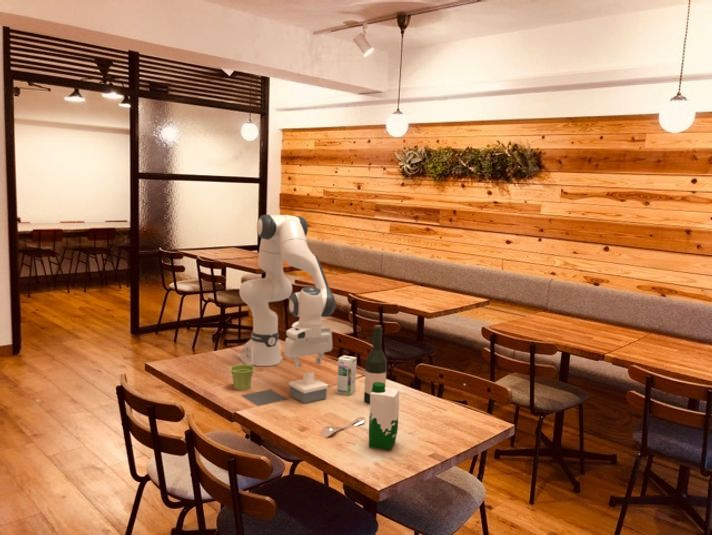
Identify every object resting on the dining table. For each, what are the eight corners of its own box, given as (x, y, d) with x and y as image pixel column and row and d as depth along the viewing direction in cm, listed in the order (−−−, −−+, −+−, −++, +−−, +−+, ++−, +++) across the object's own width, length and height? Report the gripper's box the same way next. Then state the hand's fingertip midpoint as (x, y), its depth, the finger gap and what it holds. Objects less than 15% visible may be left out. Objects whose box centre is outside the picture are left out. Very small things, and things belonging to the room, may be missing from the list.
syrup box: (336, 393, 239) (337, 358, 237) (342, 389, 245) (344, 354, 243) (349, 396, 237) (350, 360, 235) (355, 391, 242) (357, 356, 240)
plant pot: (246, 394, 234) (247, 373, 232) (225, 391, 237) (225, 369, 235) (258, 387, 242) (258, 366, 241) (237, 384, 245) (237, 363, 244)
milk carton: (372, 437, 199) (374, 379, 196) (398, 441, 197) (402, 382, 194) (365, 448, 191) (368, 387, 188) (393, 452, 188) (396, 391, 186)
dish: (289, 397, 233) (290, 385, 232) (311, 392, 239) (311, 380, 238) (304, 405, 225) (304, 392, 224) (326, 400, 231) (326, 387, 230)
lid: (288, 384, 232) (288, 371, 231) (312, 380, 239) (312, 367, 238) (304, 393, 223) (304, 379, 223) (328, 388, 230) (328, 374, 230)
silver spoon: (358, 409, 213) (368, 413, 210) (358, 419, 214) (368, 423, 211) (317, 428, 199) (327, 432, 196) (317, 438, 200) (327, 442, 196)
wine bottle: (370, 396, 238) (373, 322, 233) (388, 400, 233) (392, 325, 229) (359, 402, 231) (363, 326, 226) (378, 407, 226) (382, 329, 222)
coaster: (240, 396, 231) (240, 395, 231) (270, 390, 239) (270, 389, 239) (257, 407, 221) (257, 405, 221) (287, 400, 229) (287, 399, 229)
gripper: (327, 325, 237) (325, 359, 239) (282, 331, 224) (281, 367, 226) (336, 329, 232) (334, 363, 234) (291, 335, 219) (290, 371, 222)
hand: (308, 365), depth 230 cm, fingers open, 8 cm apart
